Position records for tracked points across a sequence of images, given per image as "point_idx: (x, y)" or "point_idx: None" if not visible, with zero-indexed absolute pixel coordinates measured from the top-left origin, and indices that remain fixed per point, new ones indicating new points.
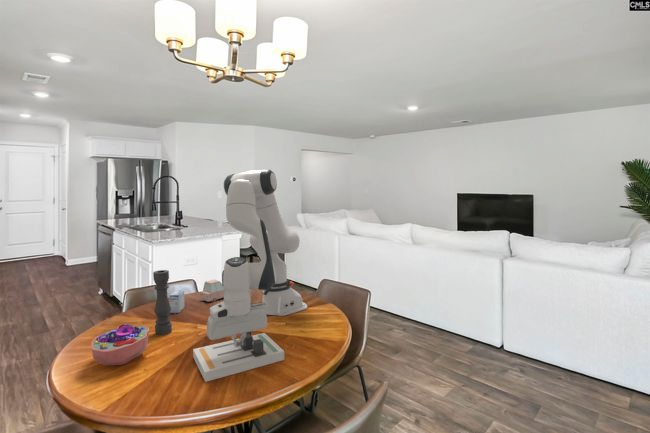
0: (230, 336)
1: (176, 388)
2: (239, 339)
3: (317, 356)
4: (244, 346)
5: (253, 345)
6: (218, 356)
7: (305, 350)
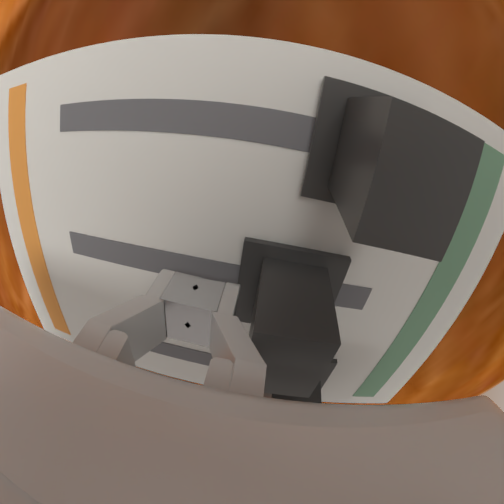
0: (90, 326)
1: (7, 275)
2: (205, 314)
3: (447, 391)
4: (257, 290)
5: (271, 396)
6: (76, 259)
7: (474, 352)
